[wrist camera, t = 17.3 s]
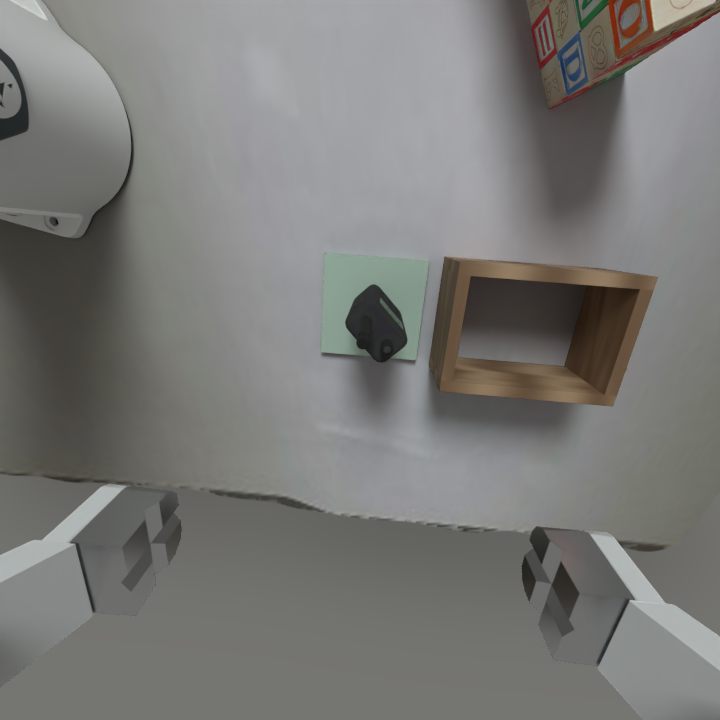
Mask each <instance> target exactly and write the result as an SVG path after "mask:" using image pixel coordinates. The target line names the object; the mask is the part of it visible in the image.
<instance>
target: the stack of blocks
mask: <svg viewBox="0 0 720 720" xmlns="http://www.w3.org/2000/svg"><path fill="white" fill-rule="evenodd" d="M526 2H527V6H528V11H529V16H530V20H531V24H532V34H533V39H534V43H535V47H536V52H537V57H538V61H539V66H540V70H541V76H542V81H543V86H544V90H545V95H546V99H547V104H548V108H549V109H551V108H553V107H555V106H557V105H559V104H561V103H563V102H565V101H568V100H570V99H572V98H574V97H576V96H578V95H580V94H582V93H584V92H586V91H587V90H589V89H591V88H593V87H595V86H597V85H599V84H602V83H604V82H606V81H608V80H610V79H612V78H614V77H616V76H618V75H621V74H623V73H625V72H626V71H628V70H630V69H631V68H633V67H634V66H636V65H637V64H639V63H640V62H642V61H643V60H645V59H646V58H648V57H649V56H650V55H652V54H654V53H655V52H657V51H658V50H660V49H662V48H663V47H665V46H666V45H668V44H669V43H671V42H672V41H674V40H676V39H677V38H679V37H680V36H682V35H683V34H685V33H687V32H689V31H690V30H692V29H694V28H695V27H697V26H698V25H700V24H701V23H702V22H704V21H706V20H708V19H709V18H711V17H712V16H713V15H715V14H717V13H719V12H720V0H526Z"/></svg>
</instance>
